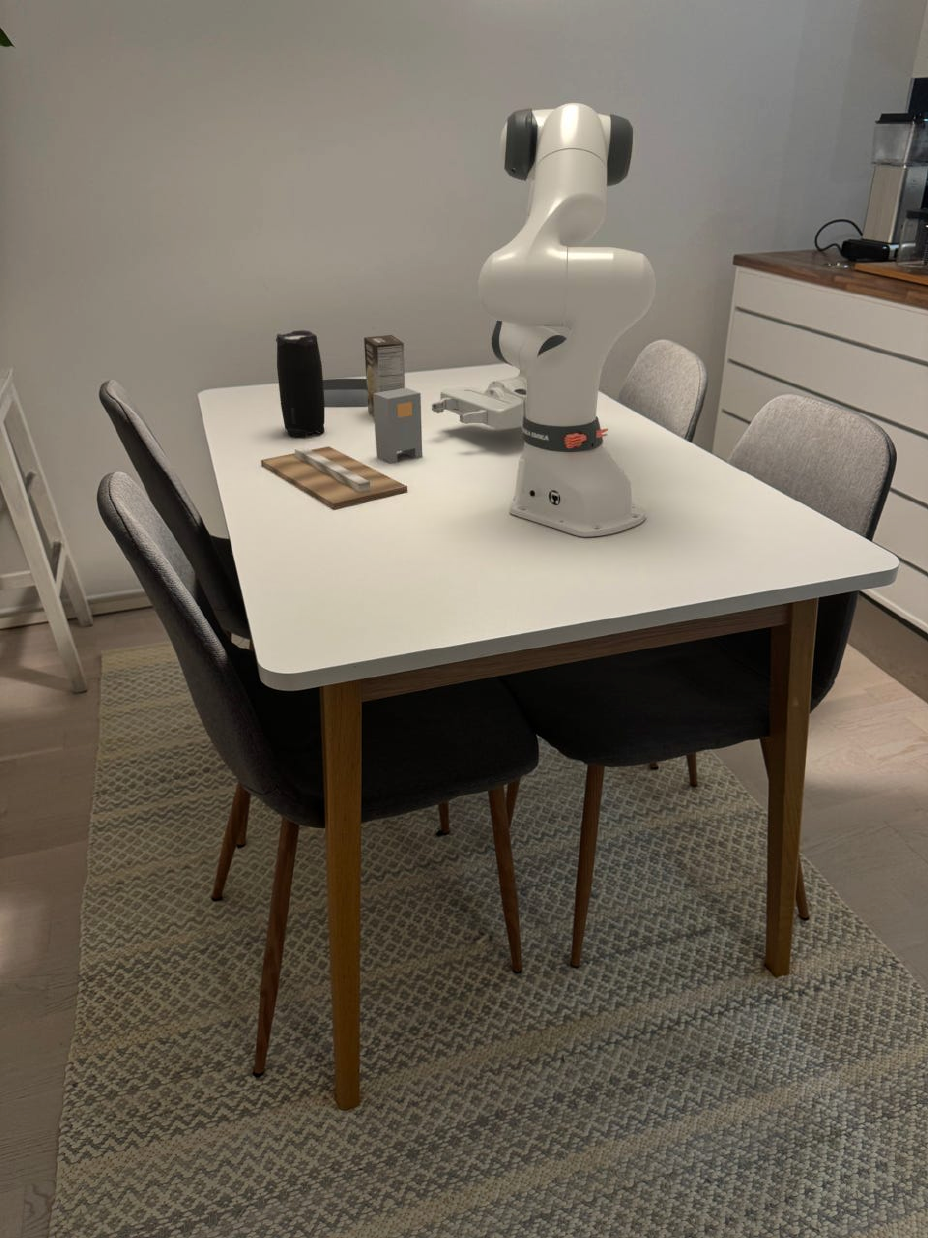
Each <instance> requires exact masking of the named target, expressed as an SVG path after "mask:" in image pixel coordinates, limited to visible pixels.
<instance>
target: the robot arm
mask: <svg viewBox="0 0 928 1238" xmlns="http://www.w3.org/2000/svg"><path fill="white" fill-rule="evenodd" d="M506 120H507V121H506V123H505V125H504V127H503V129H502V132H501V135H500V140H499V154H500V157H501V161H502V164H503V166H504V167H503V169H504V170H505V172H506V173H507V175H508V176H509V177H511V178H514V179H517V180H519V181H525V182H526V181H527V180H530V181H531V182H530V189H529V194H528V200H527V210H526V218H525V224H523V227H522V228H521V230H520V231H519V232H518V233H517V235H516V236H515V237H514V238H513V239H512V240H510V242H508V243H507V244H506V245H504V246H503V247H501V248H500V249H497V250H495V251H494V252H492V253H491V255H489V257H487V259H486V260H485V262H484V264H483V266H482V267H481V270H480V273H479V276H478V284H477V286H478V287H477V290H478V298H479V300H480V304H481V305H482V307H483V310H484V311H485V312H486V314H487V315H488V316H489V317H490V318H491V319H492V320H494V321H496V323H495V326H494V328H493V330H492V331H493V332H492V334H491V348H492V352H493V355H494V356H495V357H496V359H498V361H500V362H503V363H505V364H507V365H509V366H512V367H514V368H516V369H518V370H519V374H518V375H517V376H515V377H509V378H503V379H499V380H493V381H492V382H491V383H489V384H488V386H487V389H486V390H483V389H479V388H476V387H471V386H465V387H453V388H446V389H443V390H441V391H440V393H439V394H440V397H439V398H440V400H439V401H436V402H435V401H434V402H432V403H431V411H432V412H433V413H437V414H440V413H444V411H449V412H451V413H454V414H456V415H459V422H460V423H462V424H465V425H467V424H484V425H486V426H489V427H491V428H494V429H497V430H509V429H518V428H521V439H522V440H523V443H524V444H523V447H522V448H523V449H522V451H521V456H520V458H519V461H518V468H517V476H516V482H515V483H516V484H515V492H514V495H513V496H514V497H513V500H512V501H513V502H512V503H511V505H510V507H509V508H510V509H509V513H510V514H511V515H513V516H516V517H519V518H522V519H525V520H529V521H532V522H535V523H538V524H541V525H544V526H547V527H549V528H553V529H556V530H559V531H562V532H565V533H568V534H572V535H574V536H578V537H582V538H584V537H585V538H586V537H598V536H599V537H600V536H606V535H612V534H615V533H618V532H622V531H625V530H629V529H630V528H634V527H636V526H638V525H640V524H641V523H643V522H644V521H645V520H646V518H647V514H646V513H647V512H646V511H645V510H643V508H640V507H639V506H637V505H635V504H634V503H632V499H633V498H632V487H631V481H630V478H629V477H628V475H626V473H625V471H624V469H623V468H621V467H620V466H619V465H618V463H617V462H616V460H615V459H614V458H613V457H612V455H611V454H610V453H609V451H608V450H607V449H606V447H605V446H604V444H603V443H604V439H603V438H605V437H607V436H609V435H608V434H607V433H606V432H608V431H609V428H603V429H601V425H600V419H599V417H598V416H597V408H598V407H597V406H598V398H599V397H598V396H599V388H600V382H601V375H602V371H603V368H604V367H603V366H604V365H605V361H606V358H607V357H608V355H609V352H610V351H611V349H612V347H613V346H614V345H615V343H616V342H617V341H618V339H619V338H620V337H621V336H622V335H623V334H624V333H625V332H626V331H627V330H628V329H630V328H631V327H633V326H634V325H635V324H637V322H640V320H641V319H642V318H643V317H645V315H646V314H647V312H649V309H651V306H652V303H653V302H654V300H655V299H654V298H655V295H656V287H657V286H656V284H657V283H656V276H655V271H654V269H653V267H652V264H651V262H650V261H649V259H648V258H647V257H646V255H644V253H642V252H637V251H634V250H629V249H624V248H618V247H615V246H614V247H613V246H611V247H610V246H605V247H604V246H584V244H585V243H586V242H587V241H589V240H590V239H592V238H593V237H594V236H595V235H596V233H597V232H598V231H599V230H600V228H601V227H602V225H603V223H604V222H605V219H606V216H607V215H606V214H607V201H608V200H607V197H608V196H607V195H608V193H607V192H608V187H612V186H616V185H618V184H620V183H621V182H622V181H624V180H625V179H626V178H627V177H628V175H629V172H630V169H631V168H632V167H633V166H632V165H633V164H634V160H635V156H636V137H635V134H634V128H633V125H632V123H631V122H630V120H629V119H627V118H625V117H622V116H619V115H616V114H613V113H611V114H609V115H606V114H605V115H604V114H601V113H597V112H596V110H594V109H593V108H591V106H588V105H586V104H583V103H580V102H569V103H565V104H562V105H560V106H558V107H556V108H546V109H535V110H533V109H532V108H523V109H519V110H516V111H513V112H512V113H511V114H510V115H509V116H508V117H507V119H506ZM549 327H565V328H568V329H569V334H568V336H567V337H566V336H564V335H562V334H560V333H559V332H557V331H555V330H554V329H552V328H549ZM603 433H604V434H603ZM605 433H606V434H605Z"/></svg>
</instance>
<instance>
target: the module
mask: <svg viewBox="0 0 928 1238" xmlns="http://www.w3.org/2000/svg"><path fill="white" fill-rule="evenodd" d="M421 395H422V393H421V392H419V391H416V390H413V389H411V388H407V387H405V388H401V389H395V390H390V391H384V392H378V393H373V399H374V417H373V418H374V432H375V451H376V453H375V454H376V458H378V459H379V460H382V461H383V462H386V463H388V464H390V465H391V464H396V463H398V452H401V453H403V454H406V455H408V456H409V457H412V458H414V459H419V458H423V435H422V433H423V431H422V400H421V399H422V398H421Z"/></svg>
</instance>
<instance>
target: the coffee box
mask: <svg viewBox="0 0 928 1238" xmlns="http://www.w3.org/2000/svg"><path fill="white" fill-rule="evenodd" d="M404 344H405V343H404V342H403V341H401V340H399V339H398V338H397V337H395V336H394V335H392V334H388V335H385V334H384V335H375V336H374V335H373V336H367V337H364V338H363V345H364V361H365V362H364V363H365V379H366V382H367V401H368V407H367V411H368V413H369V414H370V415H371V414H372V415H373V416H374V399H373V393H378V392H384V391H390V390H395V389H401V388H406V375H405V374H406V373H405V372H406V370H405V366H406V365H405V345H404ZM372 415H371V416H372ZM373 416H372V417H373Z"/></svg>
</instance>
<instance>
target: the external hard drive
mask: <svg viewBox="0 0 928 1238" xmlns="http://www.w3.org/2000/svg"><path fill="white" fill-rule="evenodd" d="M323 388H324V403H325V408H368V401H367V382H366V378H330V379H329V378H327V379H323Z"/></svg>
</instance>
